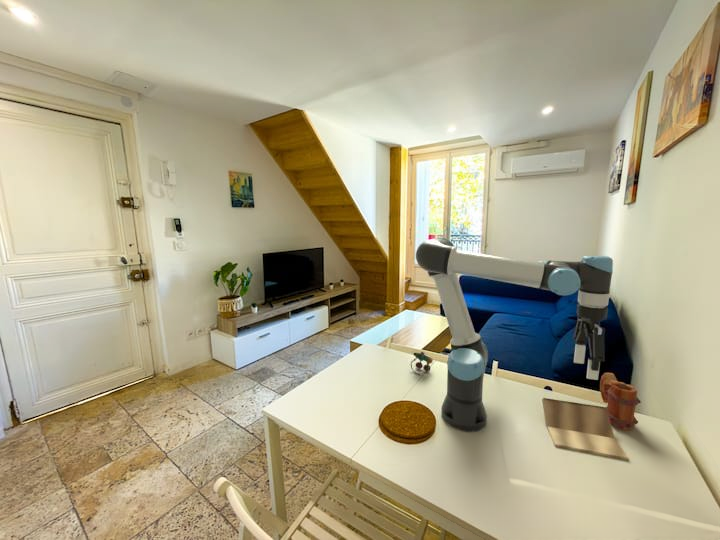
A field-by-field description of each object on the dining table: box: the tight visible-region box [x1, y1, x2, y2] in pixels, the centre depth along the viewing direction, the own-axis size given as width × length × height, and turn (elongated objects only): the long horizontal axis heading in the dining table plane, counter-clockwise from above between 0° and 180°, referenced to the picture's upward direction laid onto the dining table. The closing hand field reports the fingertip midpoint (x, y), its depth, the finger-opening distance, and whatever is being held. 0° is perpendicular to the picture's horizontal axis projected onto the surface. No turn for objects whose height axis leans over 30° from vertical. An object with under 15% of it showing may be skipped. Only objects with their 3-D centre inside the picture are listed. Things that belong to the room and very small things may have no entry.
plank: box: [541, 397, 616, 439], centre depth 96 cm, size 18×9×2 cm
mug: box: [599, 372, 641, 431], centre depth 99 cm, size 15×8×15 cm, turn 168°
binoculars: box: [410, 351, 434, 375], centre depth 134 cm, size 9×9×10 cm
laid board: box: [546, 426, 630, 461], centre depth 89 cm, size 18×8×2 cm, turn 71°
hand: (585, 370), depth 95 cm, fingers open, 10 cm apart
